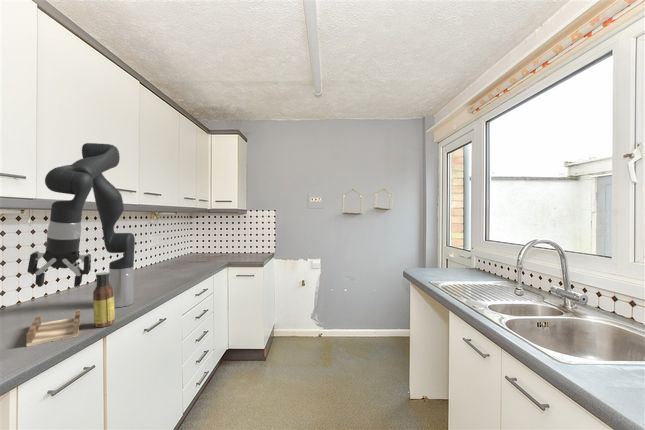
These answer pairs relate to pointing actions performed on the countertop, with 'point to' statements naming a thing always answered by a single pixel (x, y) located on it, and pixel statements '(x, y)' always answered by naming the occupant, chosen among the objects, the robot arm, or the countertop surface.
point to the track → (53, 330)
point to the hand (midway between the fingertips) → (58, 286)
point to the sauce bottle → (103, 301)
